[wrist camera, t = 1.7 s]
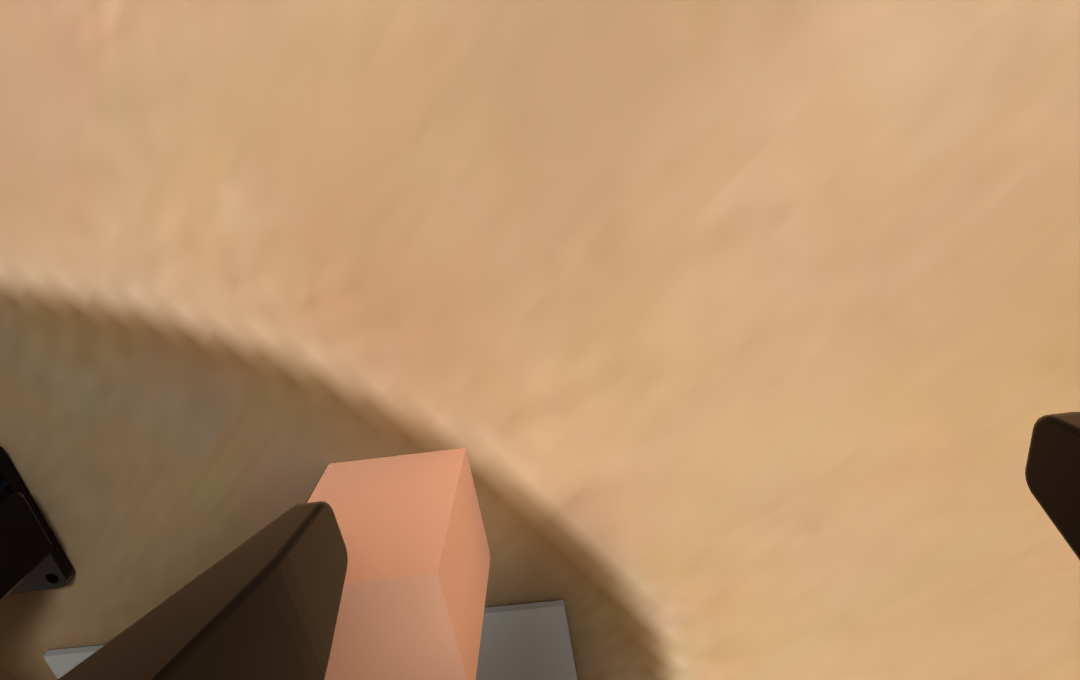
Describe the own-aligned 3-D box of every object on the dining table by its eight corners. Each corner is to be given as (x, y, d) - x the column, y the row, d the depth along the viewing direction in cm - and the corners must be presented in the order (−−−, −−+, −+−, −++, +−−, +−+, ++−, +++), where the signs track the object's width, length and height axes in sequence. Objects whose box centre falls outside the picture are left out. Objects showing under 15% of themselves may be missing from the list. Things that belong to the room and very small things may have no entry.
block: (365, 569, 24) (310, 715, 19) (329, 463, 22) (256, 592, 17) (490, 555, 24) (473, 701, 18) (465, 447, 22) (437, 573, 16)
